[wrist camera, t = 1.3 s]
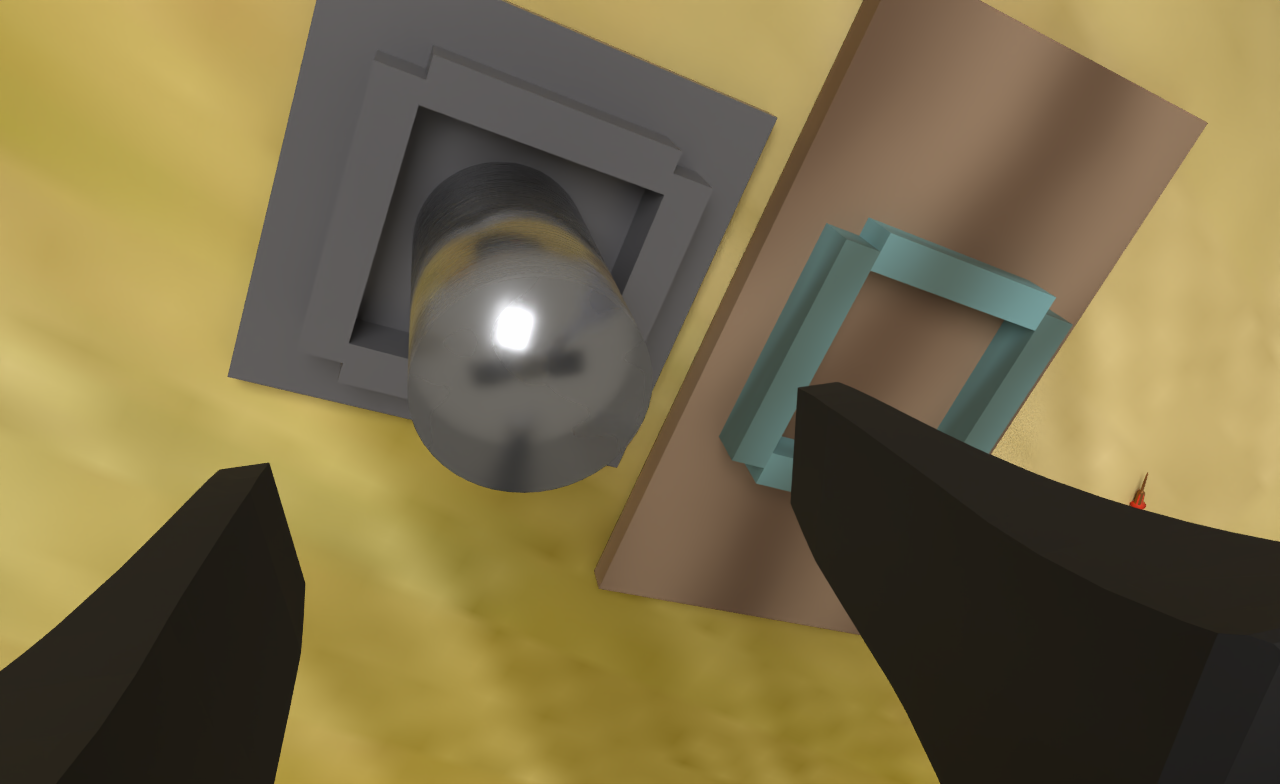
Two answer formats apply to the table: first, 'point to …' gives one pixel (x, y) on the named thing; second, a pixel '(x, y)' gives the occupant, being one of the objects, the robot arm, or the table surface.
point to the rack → (895, 283)
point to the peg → (518, 335)
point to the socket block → (459, 138)
